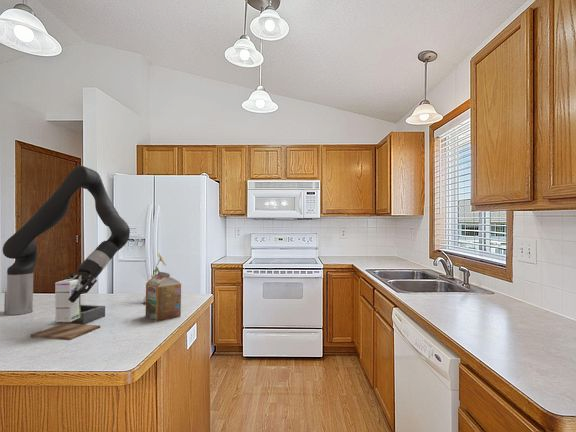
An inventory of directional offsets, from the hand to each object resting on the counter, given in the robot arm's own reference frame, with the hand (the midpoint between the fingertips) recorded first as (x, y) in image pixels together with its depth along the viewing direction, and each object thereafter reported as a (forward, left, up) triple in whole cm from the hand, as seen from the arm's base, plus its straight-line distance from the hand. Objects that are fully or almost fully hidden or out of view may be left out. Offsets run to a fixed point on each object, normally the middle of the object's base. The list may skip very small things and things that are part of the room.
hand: (63, 300), depth 123 cm
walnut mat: (0, +1, -12) cm, 12 cm away
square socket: (-7, +16, -12) cm, 21 cm away
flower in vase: (+5, +51, -12) cm, 53 cm away
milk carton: (+23, +27, -12) cm, 38 cm away
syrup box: (0, +2, -8) cm, 8 cm away
